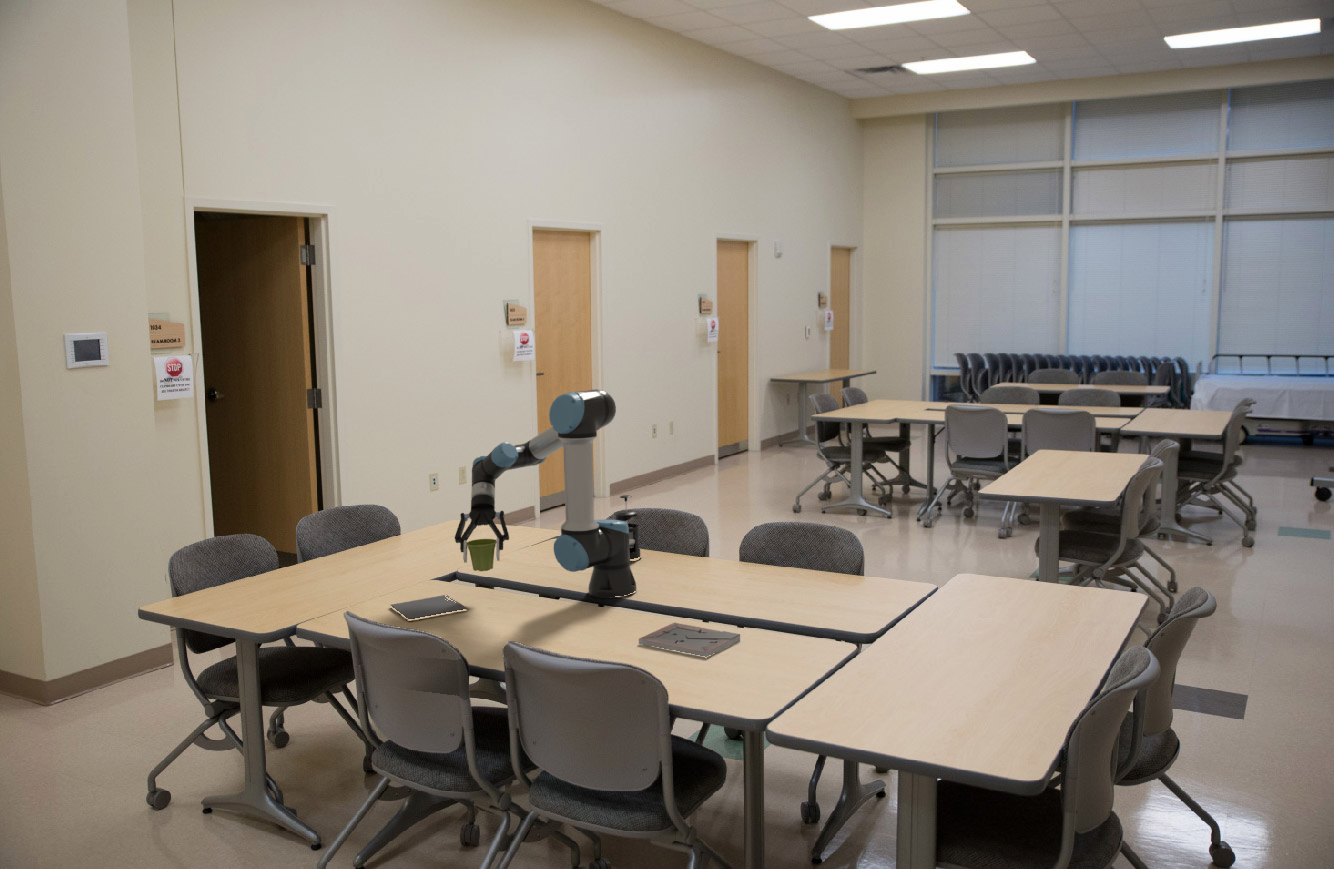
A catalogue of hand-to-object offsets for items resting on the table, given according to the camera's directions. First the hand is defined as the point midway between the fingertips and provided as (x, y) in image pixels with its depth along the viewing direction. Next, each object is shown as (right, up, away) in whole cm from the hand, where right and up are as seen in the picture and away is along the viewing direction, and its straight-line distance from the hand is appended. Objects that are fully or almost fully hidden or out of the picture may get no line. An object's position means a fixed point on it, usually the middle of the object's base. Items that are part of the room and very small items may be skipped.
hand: (481, 559), depth 323 cm
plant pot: (0, -4, +4) cm, 5 cm away
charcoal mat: (-15, -15, -4) cm, 22 cm away
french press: (+43, -6, +51) cm, 67 cm away
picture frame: (+63, -18, -43) cm, 79 cm away
